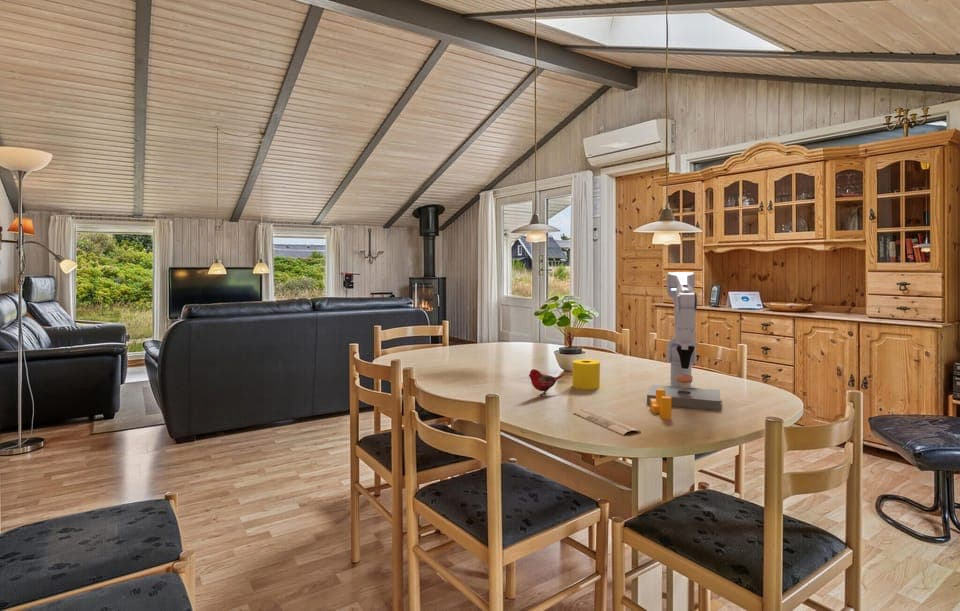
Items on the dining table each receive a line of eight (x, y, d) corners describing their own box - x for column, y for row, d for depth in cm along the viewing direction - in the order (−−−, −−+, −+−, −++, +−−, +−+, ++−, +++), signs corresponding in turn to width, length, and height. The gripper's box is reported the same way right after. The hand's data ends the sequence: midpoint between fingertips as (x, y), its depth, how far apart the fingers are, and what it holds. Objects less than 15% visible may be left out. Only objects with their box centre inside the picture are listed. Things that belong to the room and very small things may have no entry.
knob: (676, 387, 182) (676, 373, 181) (692, 388, 180) (692, 374, 179) (675, 390, 177) (675, 376, 177) (691, 391, 175) (692, 377, 175)
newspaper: (641, 435, 146) (641, 428, 146) (620, 438, 143) (620, 432, 143) (589, 413, 167) (589, 408, 167) (570, 416, 164) (570, 410, 164)
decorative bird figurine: (525, 397, 185) (525, 369, 184) (561, 390, 196) (561, 363, 195) (531, 399, 183) (531, 370, 182) (567, 391, 193) (567, 364, 193)
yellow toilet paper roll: (583, 382, 209) (583, 358, 208) (604, 386, 201) (605, 361, 201) (567, 386, 202) (567, 361, 201) (589, 390, 195) (589, 365, 194)
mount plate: (651, 392, 190) (652, 384, 190) (719, 398, 182) (719, 389, 181) (646, 403, 176) (647, 394, 175) (720, 410, 167) (720, 401, 167)
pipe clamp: (650, 408, 171) (650, 388, 170) (664, 408, 170) (664, 388, 170) (655, 419, 159) (656, 397, 159) (671, 419, 158) (671, 398, 158)
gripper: (698, 331, 173) (697, 372, 174) (699, 326, 186) (698, 365, 187) (675, 330, 176) (674, 371, 177) (677, 325, 189) (676, 363, 190)
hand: (685, 367), depth 182 cm, fingers closed
